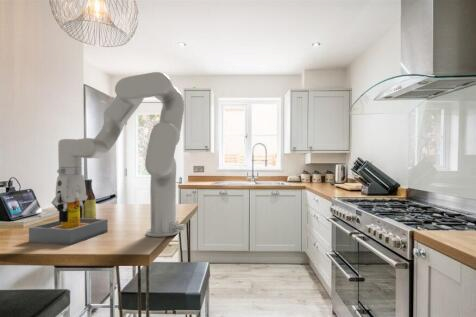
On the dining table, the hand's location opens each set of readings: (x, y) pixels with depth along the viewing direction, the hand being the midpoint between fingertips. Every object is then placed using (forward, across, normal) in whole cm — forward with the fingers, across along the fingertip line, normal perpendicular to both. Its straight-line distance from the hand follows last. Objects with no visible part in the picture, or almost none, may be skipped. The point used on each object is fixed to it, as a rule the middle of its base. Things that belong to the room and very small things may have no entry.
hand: (71, 219), depth 107 cm
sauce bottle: (+7, +22, +12) cm, 26 cm away
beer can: (+5, 0, 0) cm, 5 cm away
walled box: (+6, 0, 0) cm, 6 cm away
